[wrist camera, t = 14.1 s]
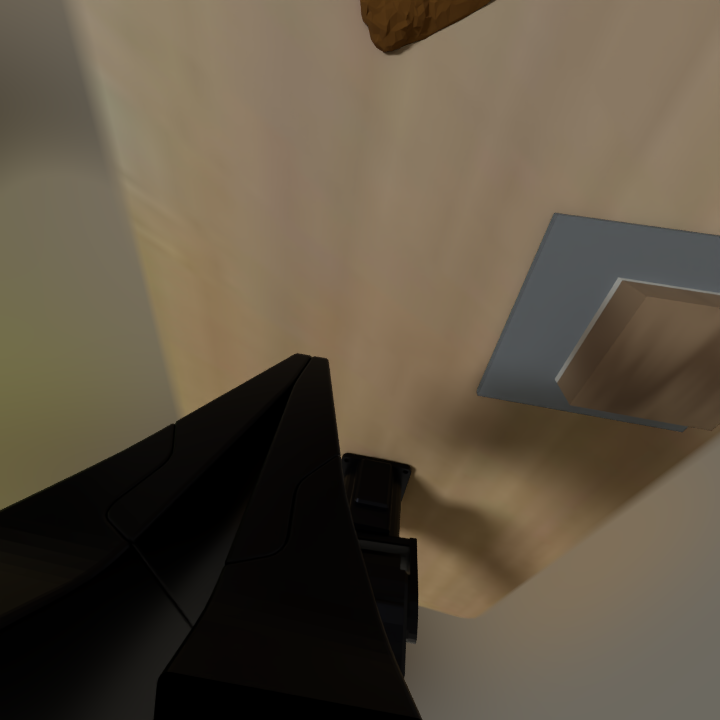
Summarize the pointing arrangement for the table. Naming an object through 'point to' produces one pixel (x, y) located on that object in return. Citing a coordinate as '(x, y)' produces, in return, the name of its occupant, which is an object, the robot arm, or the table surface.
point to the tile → (650, 356)
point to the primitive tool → (412, 19)
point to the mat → (586, 300)
